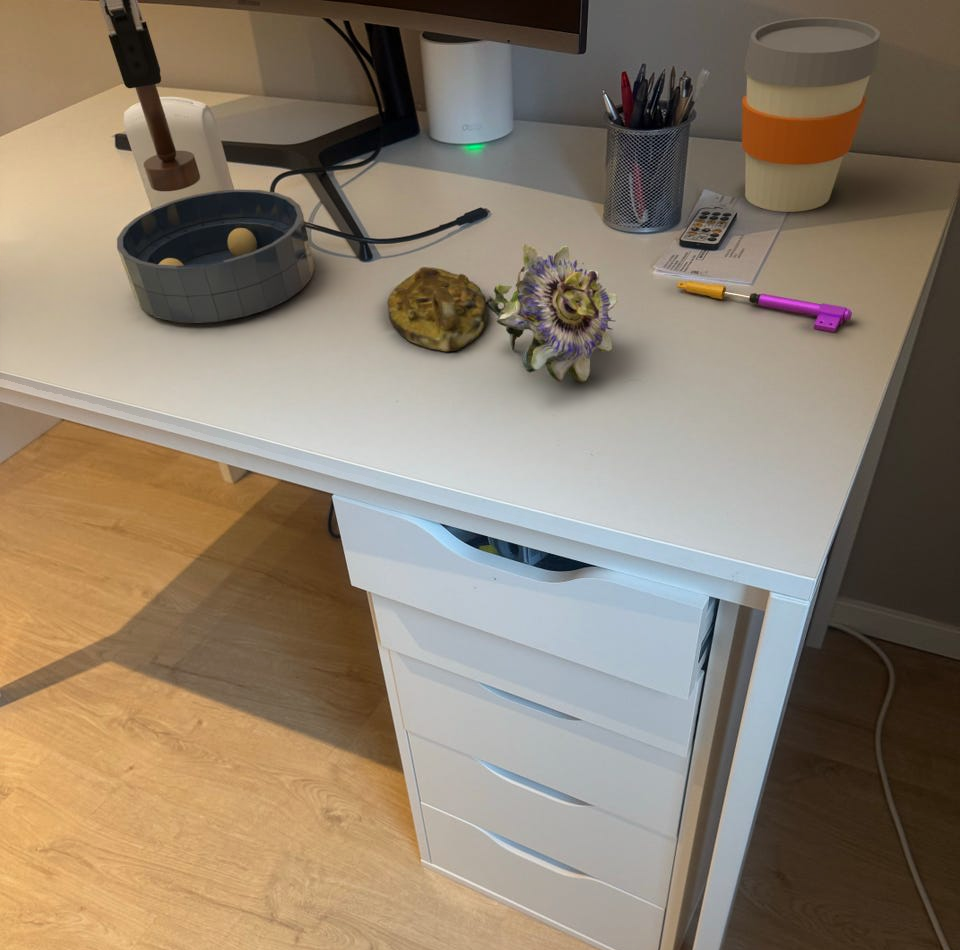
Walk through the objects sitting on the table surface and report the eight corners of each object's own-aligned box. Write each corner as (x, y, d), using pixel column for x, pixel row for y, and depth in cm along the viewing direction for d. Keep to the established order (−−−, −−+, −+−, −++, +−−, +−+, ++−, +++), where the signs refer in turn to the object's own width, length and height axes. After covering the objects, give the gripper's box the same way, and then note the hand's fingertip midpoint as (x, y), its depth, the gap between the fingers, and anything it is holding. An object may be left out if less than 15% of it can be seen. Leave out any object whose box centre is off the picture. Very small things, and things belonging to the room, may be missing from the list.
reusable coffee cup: (847, 221, 93) (884, 53, 82) (722, 216, 96) (742, 53, 85) (848, 174, 101) (882, 15, 90) (733, 171, 104) (752, 17, 93)
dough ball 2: (233, 266, 95) (225, 237, 93) (230, 254, 97) (223, 226, 95) (261, 260, 95) (254, 232, 93) (258, 249, 97) (251, 221, 95)
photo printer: (149, 223, 106) (110, 106, 97) (164, 208, 109) (127, 93, 100) (232, 222, 104) (200, 103, 95) (244, 207, 107) (214, 90, 98)
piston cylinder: (852, 316, 79) (681, 285, 86) (854, 305, 78) (680, 275, 85) (841, 337, 78) (669, 304, 85) (843, 326, 77) (669, 293, 84)
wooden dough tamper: (151, 195, 85) (91, 17, 75) (150, 177, 88) (92, 5, 78) (201, 185, 86) (149, 7, 75) (199, 168, 89) (148, -4, 78)
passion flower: (578, 431, 80) (552, 376, 69) (480, 379, 83) (439, 318, 72) (646, 322, 80) (631, 248, 68) (544, 275, 83) (514, 196, 72)
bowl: (139, 343, 86) (116, 282, 82) (137, 264, 98) (117, 208, 94) (326, 307, 88) (314, 245, 84) (302, 234, 101) (290, 177, 96)
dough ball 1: (162, 297, 91) (152, 268, 89) (161, 284, 93) (151, 256, 91) (192, 291, 91) (182, 262, 89) (190, 279, 93) (181, 250, 91)
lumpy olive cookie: (378, 299, 91) (410, 371, 81) (366, 254, 87) (397, 322, 77) (466, 271, 91) (508, 339, 81) (457, 225, 88) (500, 290, 78)
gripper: (13, -198, 72) (102, 65, 86) (-6, -183, 61) (100, 115, 75) (108, -211, 73) (182, 51, 86) (105, -198, 62) (190, 99, 76)
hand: (143, 79), depth 81 cm, fingers closed on wooden dough tamper
